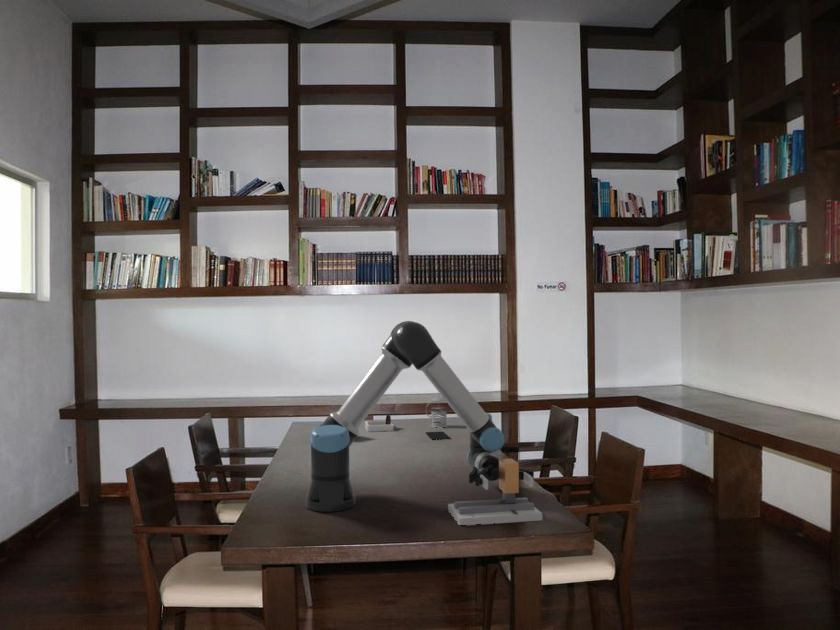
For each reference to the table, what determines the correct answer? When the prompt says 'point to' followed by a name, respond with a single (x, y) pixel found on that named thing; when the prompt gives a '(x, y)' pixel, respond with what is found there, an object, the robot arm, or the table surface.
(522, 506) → the fader console
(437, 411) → the french press
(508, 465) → the fader
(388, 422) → the compass
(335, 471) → the robot arm
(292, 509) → the table surface
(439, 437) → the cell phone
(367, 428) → the watch dish
